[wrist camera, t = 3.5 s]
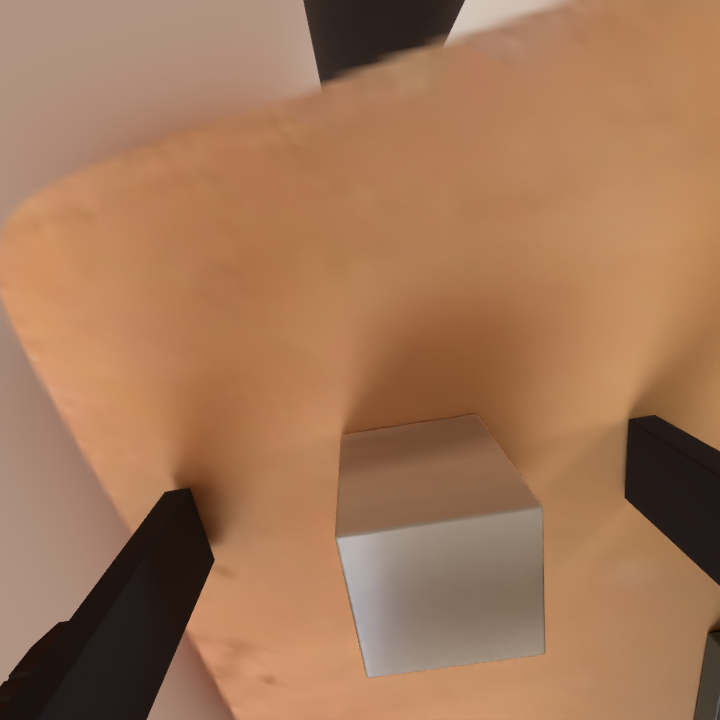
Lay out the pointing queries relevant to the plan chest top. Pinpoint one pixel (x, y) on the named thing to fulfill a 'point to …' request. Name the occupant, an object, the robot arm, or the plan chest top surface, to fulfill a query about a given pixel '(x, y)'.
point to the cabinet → (710, 681)
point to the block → (438, 547)
